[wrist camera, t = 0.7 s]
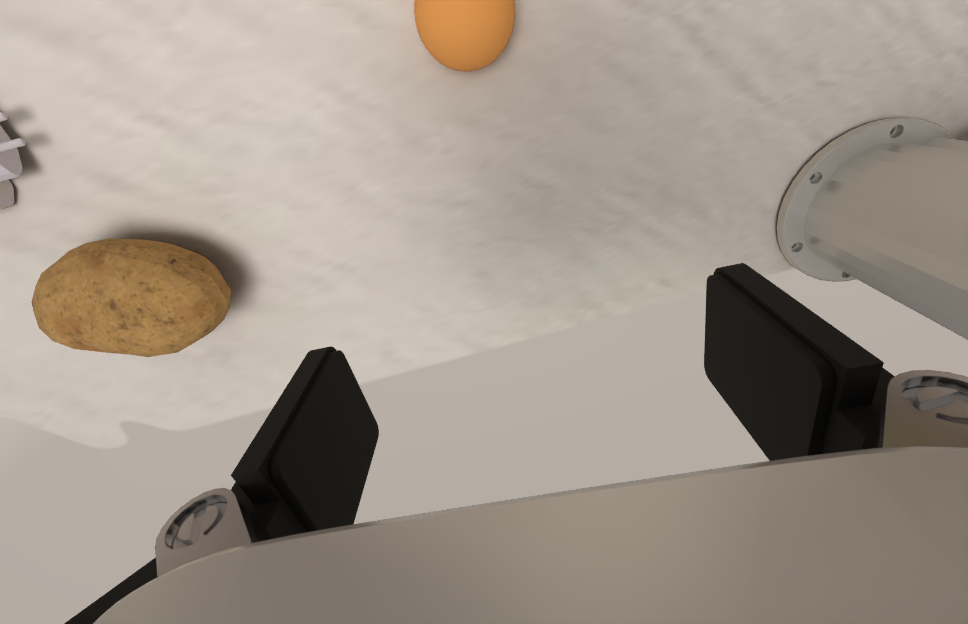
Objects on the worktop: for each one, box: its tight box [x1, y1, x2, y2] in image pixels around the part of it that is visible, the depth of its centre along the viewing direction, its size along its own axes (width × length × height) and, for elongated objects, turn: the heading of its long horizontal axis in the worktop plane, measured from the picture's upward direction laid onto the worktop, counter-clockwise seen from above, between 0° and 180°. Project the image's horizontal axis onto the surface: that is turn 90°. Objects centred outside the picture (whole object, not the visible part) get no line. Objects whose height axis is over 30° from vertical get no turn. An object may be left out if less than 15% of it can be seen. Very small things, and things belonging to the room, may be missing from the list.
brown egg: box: [414, 0, 515, 71], centre depth 25 cm, size 6×6×6 cm
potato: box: [32, 239, 231, 357], centre depth 34 cm, size 10×14×8 cm
